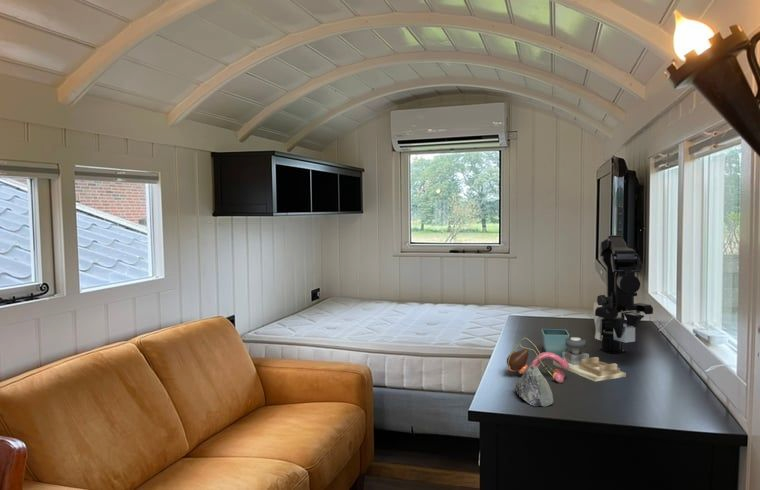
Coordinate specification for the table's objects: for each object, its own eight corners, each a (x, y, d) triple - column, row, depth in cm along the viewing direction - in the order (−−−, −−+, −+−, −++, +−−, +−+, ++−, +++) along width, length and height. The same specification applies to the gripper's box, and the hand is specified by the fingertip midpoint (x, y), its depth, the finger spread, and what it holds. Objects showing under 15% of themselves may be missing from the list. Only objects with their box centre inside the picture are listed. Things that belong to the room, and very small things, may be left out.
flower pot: (569, 360, 187) (569, 334, 186) (543, 359, 188) (543, 334, 188) (566, 353, 195) (566, 329, 195) (541, 352, 197) (541, 328, 196)
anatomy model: (575, 375, 157) (535, 331, 161) (535, 405, 163) (497, 361, 166) (577, 365, 168) (539, 324, 171) (539, 393, 173) (504, 352, 177)
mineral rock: (516, 390, 158) (515, 356, 157) (554, 393, 154) (554, 359, 153) (511, 405, 145) (511, 369, 145) (553, 409, 142) (552, 372, 141)
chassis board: (581, 360, 186) (581, 348, 186) (625, 376, 167) (626, 363, 167) (553, 364, 182) (553, 352, 182) (594, 381, 163) (594, 368, 163)
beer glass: (597, 336, 220) (597, 300, 219) (615, 338, 215) (615, 301, 214) (590, 339, 215) (590, 302, 214) (607, 341, 210) (607, 304, 209)
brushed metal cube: (623, 338, 175) (623, 323, 175) (635, 341, 171) (635, 326, 170) (613, 339, 174) (613, 324, 174) (625, 342, 169) (625, 327, 169)
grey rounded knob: (576, 350, 184) (576, 335, 184) (589, 355, 178) (589, 339, 178) (561, 352, 182) (561, 337, 181) (574, 357, 176) (574, 341, 175)
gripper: (627, 284, 182) (627, 329, 183) (583, 288, 176) (583, 334, 177) (654, 288, 172) (654, 336, 172) (608, 292, 165) (608, 342, 166)
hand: (624, 337), depth 172 cm, fingers closed on brushed metal cube, 4 cm apart
